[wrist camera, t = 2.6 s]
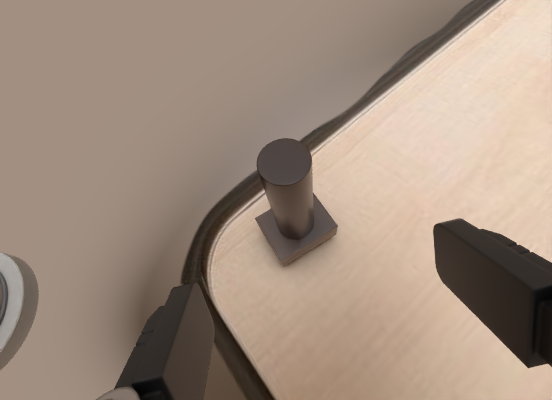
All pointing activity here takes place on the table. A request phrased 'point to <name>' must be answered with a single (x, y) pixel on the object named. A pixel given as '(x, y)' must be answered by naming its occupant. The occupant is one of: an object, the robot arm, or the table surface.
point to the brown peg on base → (291, 201)
